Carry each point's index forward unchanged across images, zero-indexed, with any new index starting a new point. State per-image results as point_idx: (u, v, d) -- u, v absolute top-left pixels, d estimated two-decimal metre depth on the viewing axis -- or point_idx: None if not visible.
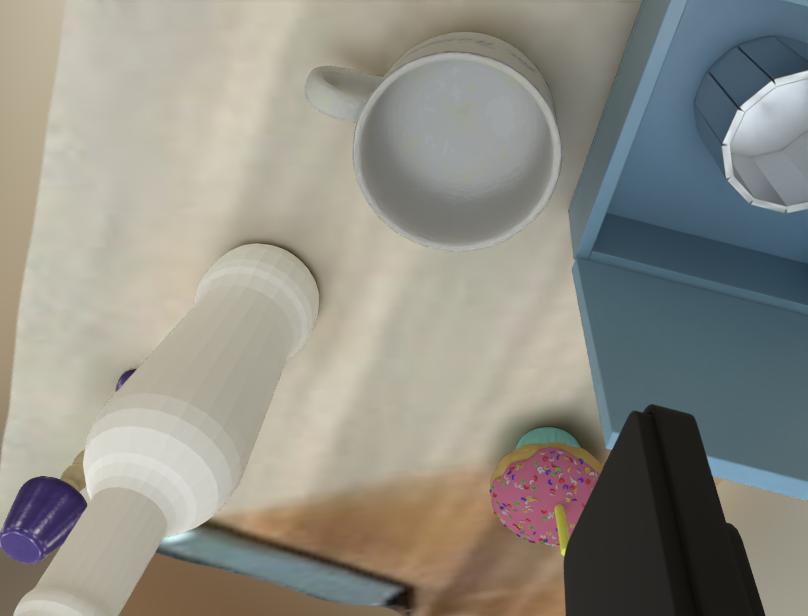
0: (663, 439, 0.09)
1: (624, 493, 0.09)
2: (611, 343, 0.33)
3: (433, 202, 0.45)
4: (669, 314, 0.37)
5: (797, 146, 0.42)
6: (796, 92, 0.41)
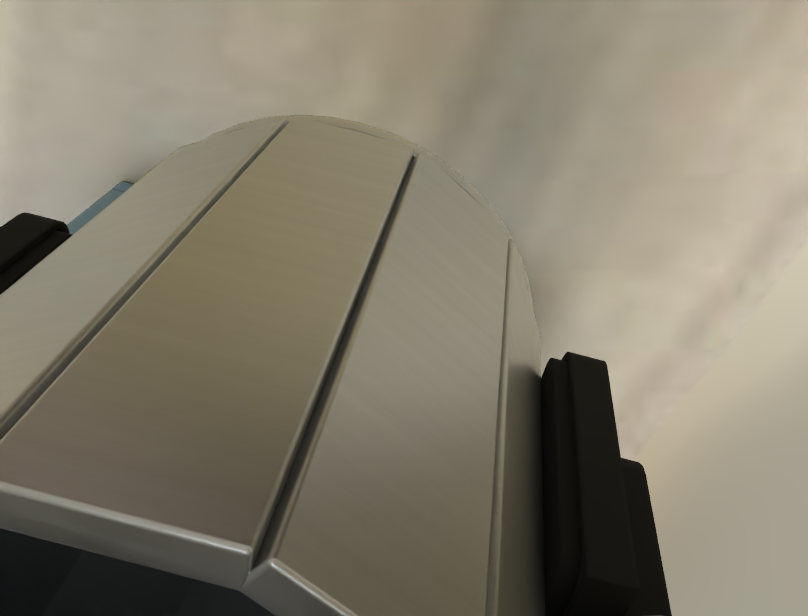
0: (572, 381, 0.10)
1: None
2: None
3: None
4: None
5: None
6: None
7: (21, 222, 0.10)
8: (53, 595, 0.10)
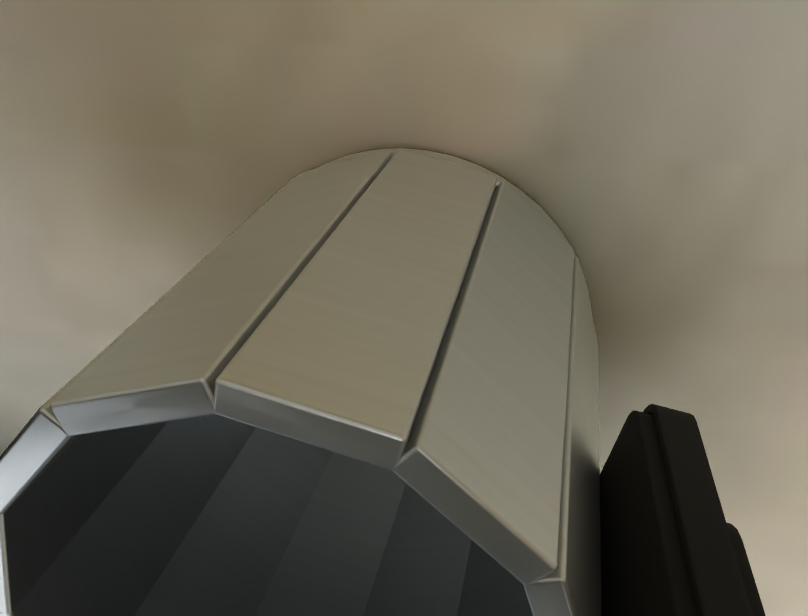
0: (663, 439, 0.09)
1: (624, 493, 0.09)
2: None
3: None
4: None
5: None
6: None
7: None
8: (186, 533, 0.12)
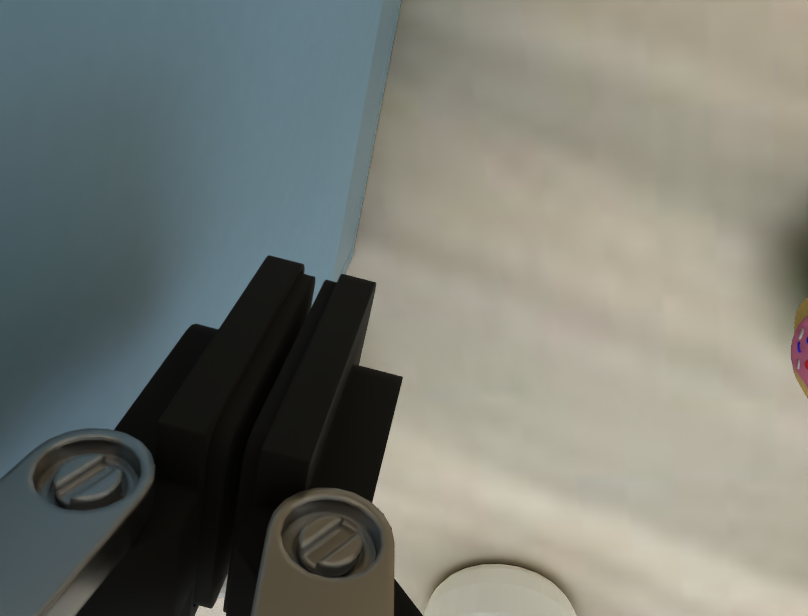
0: (333, 297, 0.10)
1: None
2: None
3: None
4: None
5: None
6: None
7: (272, 266, 0.10)
8: None
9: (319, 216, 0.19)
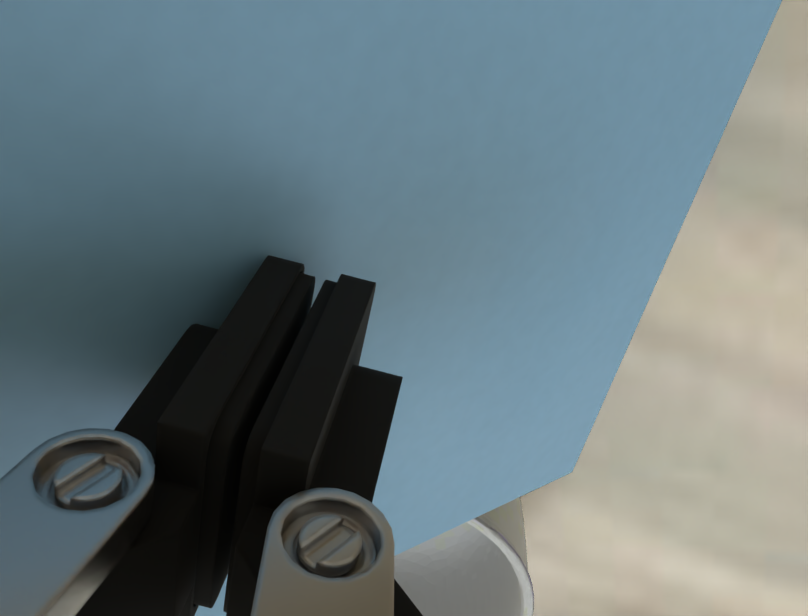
0: (333, 297, 0.10)
1: None
2: None
3: None
4: None
5: None
6: None
7: (272, 266, 0.10)
8: None
9: (593, 312, 0.18)
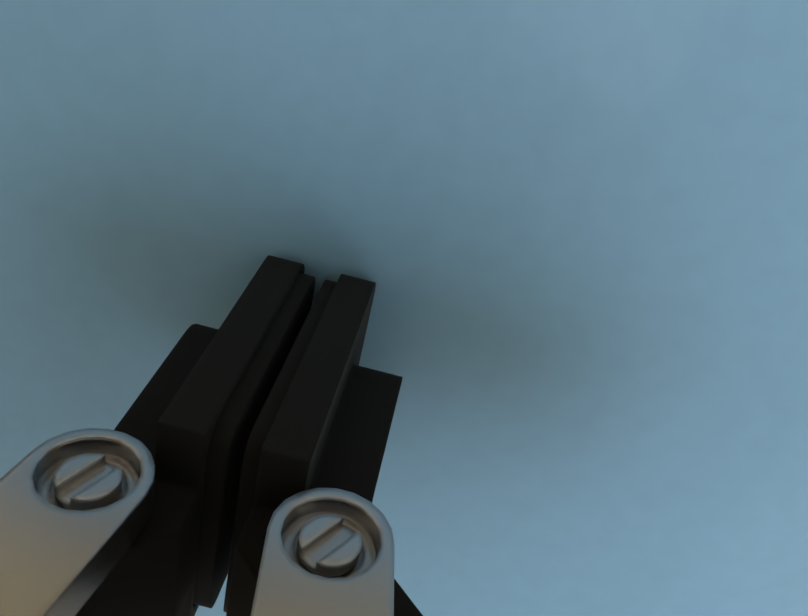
0: (333, 297, 0.10)
1: None
2: None
3: None
4: None
5: None
6: None
7: (272, 266, 0.10)
8: None
9: (772, 536, 0.13)
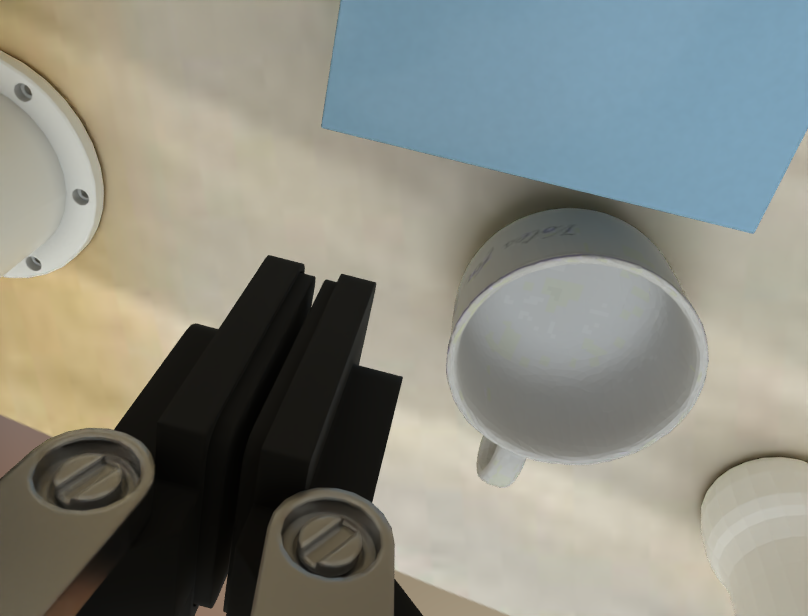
0: (333, 297, 0.10)
1: None
2: None
3: (658, 348, 0.36)
4: None
5: None
6: None
7: (272, 266, 0.10)
8: None
9: (771, 47, 0.24)
